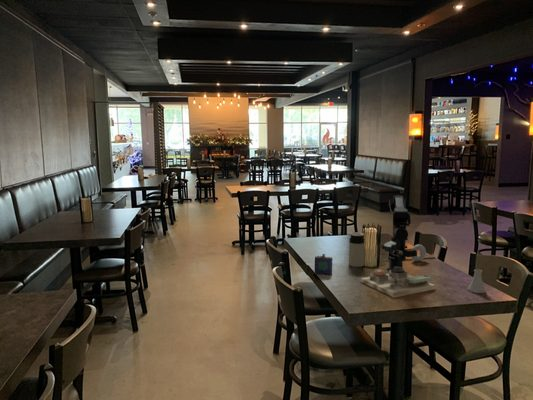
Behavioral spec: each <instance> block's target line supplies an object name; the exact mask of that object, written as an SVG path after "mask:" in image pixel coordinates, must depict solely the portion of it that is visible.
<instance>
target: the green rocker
mask: <svg viewBox="0 0 533 400" xmlns="http://www.w3.org/2000/svg"><path fill="white" fill-rule="evenodd" d="M405 279H408V280H409V283H418V282H423V281H427V282H428V281H432V277H431V276H428V277H424V275H416V276H413V277H410V278H404V279H401V282H405Z"/></svg>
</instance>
